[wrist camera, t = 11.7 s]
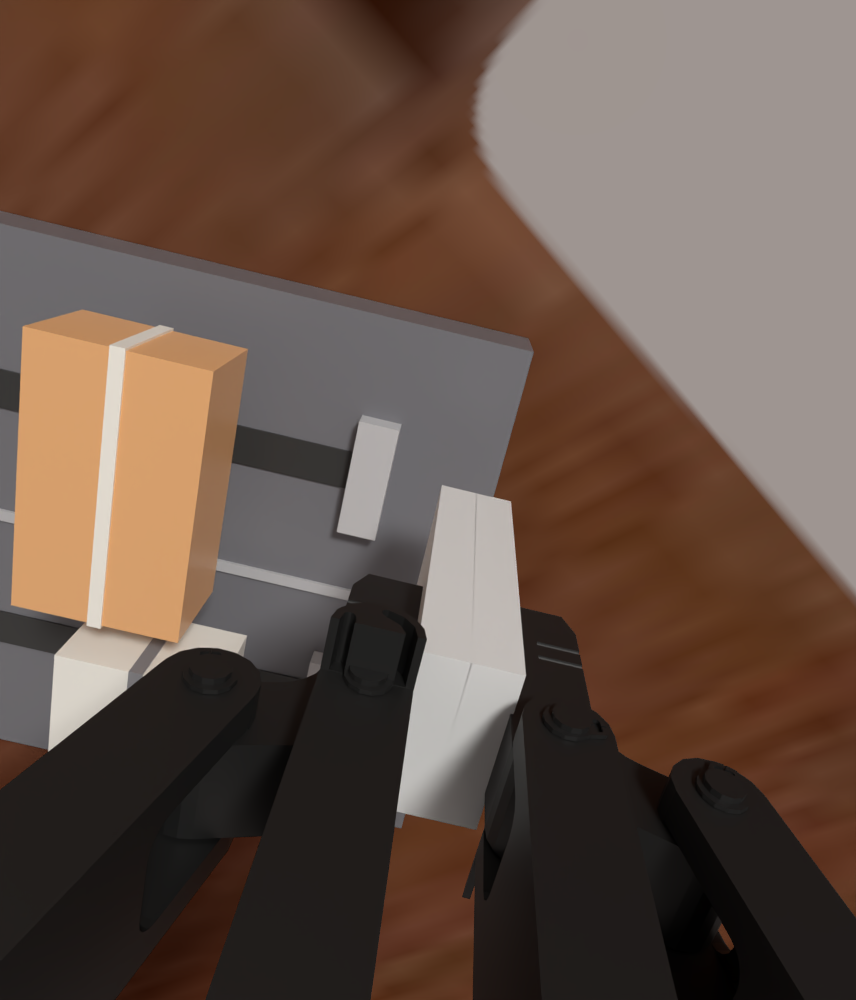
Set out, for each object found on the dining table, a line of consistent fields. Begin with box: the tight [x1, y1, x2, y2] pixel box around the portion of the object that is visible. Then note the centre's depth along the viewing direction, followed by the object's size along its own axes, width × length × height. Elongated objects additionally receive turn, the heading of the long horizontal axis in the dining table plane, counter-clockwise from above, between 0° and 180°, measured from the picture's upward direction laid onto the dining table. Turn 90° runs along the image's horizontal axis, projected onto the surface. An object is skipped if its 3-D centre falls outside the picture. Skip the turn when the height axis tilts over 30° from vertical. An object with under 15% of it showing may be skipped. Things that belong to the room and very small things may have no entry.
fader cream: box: [48, 622, 247, 752], centre depth 20 cm, size 4×6×4 cm, turn 167°
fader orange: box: [11, 310, 248, 643], centre depth 18 cm, size 4×6×4 cm, turn 167°
